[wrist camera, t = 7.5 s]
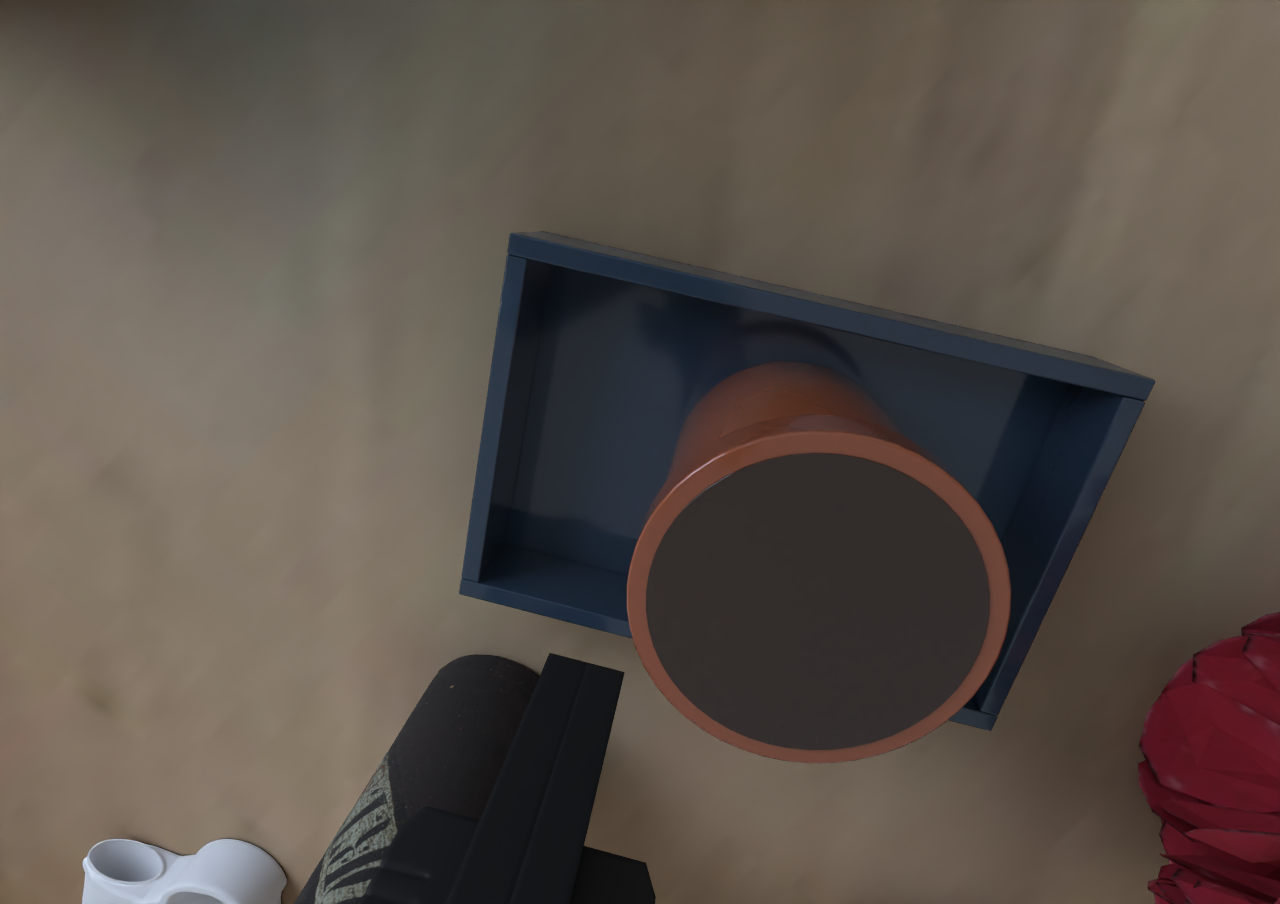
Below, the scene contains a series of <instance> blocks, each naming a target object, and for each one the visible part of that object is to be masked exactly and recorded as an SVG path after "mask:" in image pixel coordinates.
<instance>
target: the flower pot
mask: <svg viewBox="0 0 1280 904" xmlns="http://www.w3.org/2000/svg"><path fill="white" fill-rule="evenodd" d="M1010 610H1011V584H1010V575H1009V567H1008V564H1007V560H1006V557H1005V553H1004V550H1003V546H1002V544H1001V541H1000V539H999V537H998V535H997V533H996V531H995V529H994V526H993V524H992V523H991V521H990V520H989V518H988V517H987V515H986V514H985V512H984V511H983V509H982V508H981V506H980V505H979V503H978V502H977V501H976V500H975V498H974V497H973V496H972V495H971V494H970V493H969V492H968V490H967V489H966V488H965V487H964V486H963V485H962V483H961V482H960V481H959V480H958V479H957V478H956V477H955V476H954V475H953V473H952V472H951V471H950V470H949V469H948V468H947V467H946V466H945V465H944V464H943V463H942V462H941V461H939V460H938V459H937V458H936V457H935V456H933V455H932V454H931V453H930V452H929V451H927V450H926V449H925V448H923V447H921V446H920V445H918V444H917V443H915V442H913V441H912V440H910V439H908V438H907V437H905V435H904V434H903V433H902V432H901V430H900V429H899V428H898V427H897V425H896V424H895V423H894V422H893V420H892V419H891V418H890V417H889V415H888V414H887V413H886V412H885V410H884V409H883V408H882V406H881V405H880V404H879V403H878V402H877V401H876V400H875V398H874V397H873V396H872V395H871V394H870V393H869V392H868V391H867V390H866V389H864V388H863V387H862V386H861V385H859V384H858V383H857V382H855V381H854V380H852V379H850V378H849V377H847V376H846V375H844V374H842V373H839V372H837V371H835V370H833V369H830V368H827V367H824V366H820V365H817V364H812V363H805V362H794V361H781V362H771V363H766V364H761V365H757V366H753V367H750V368H747V369H745V370H742V371H739V372H737V373H735V374H733V375H731V376H730V377H728V378H726V379H724V380H723V381H721V382H720V383H718V384H717V385H716V386H714V387H713V388H712V389H711V390H710V391H708V392H707V393H706V394H705V395H704V396H703V397H702V398H701V399H700V400H699V402H698V403H697V404H696V405H695V406H694V407H693V409H692V410H691V412H690V413H689V415H688V417H687V418H686V420H685V422H684V424H683V426H682V428H681V430H680V432H679V435H678V439H677V442H676V445H675V449H674V453H673V456H672V460H671V464H670V468H669V471H668V475H667V479H666V482H665V484H664V485H663V486H662V488H661V489H660V491H659V492H658V494H657V495H656V497H655V498H654V500H653V501H652V503H651V505H650V507H649V510H648V512H647V514H646V516H645V518H644V520H643V523H642V526H641V529H640V532H639V536H638V539H637V542H636V546H635V549H634V552H633V555H632V559H631V562H630V566H629V573H628V579H627V614H628V621H629V627H630V631H631V634H632V638H633V641H634V644H635V648H636V650H637V652H638V654H639V657H640V659H641V661H642V663H643V665H644V667H645V669H646V671H647V672H648V674H649V675H650V677H651V679H652V680H653V682H654V683H655V685H656V686H657V687H658V689H659V690H660V691H661V692H662V694H663V695H664V696H665V697H666V698H667V700H668V701H669V702H670V703H671V704H672V705H673V706H674V707H675V708H676V709H677V710H678V711H680V712H681V713H682V714H683V715H684V716H685V717H686V718H688V719H689V720H690V721H692V722H693V723H694V724H696V725H697V726H698V727H700V728H701V729H702V730H704V731H706V732H708V733H709V734H711V735H713V736H714V737H716V738H718V739H720V740H721V741H724V742H726V743H728V744H730V745H733V746H735V747H737V748H739V749H742V750H745V751H748V752H751V753H754V754H758V755H761V756H764V757H769V758H774V759H779V760H784V761H792V762H802V763H836V762H845V761H854V760H859V759H863V758H868V757H873V756H877V755H880V754H883V753H886V752H889V751H892V750H895V749H898V748H901V747H903V746H905V745H907V744H909V743H911V742H913V741H916V740H918V739H920V738H922V737H923V736H925V735H927V734H928V733H930V732H931V731H933V730H935V729H936V728H938V727H939V726H941V725H942V724H943V723H945V722H946V721H947V720H948V719H950V718H951V717H952V716H953V715H955V714H956V713H957V712H958V711H959V710H960V709H961V708H962V707H963V706H964V705H965V704H966V703H967V702H968V701H969V700H970V699H971V698H972V697H973V696H974V695H975V693H976V692H977V691H978V689H979V688H980V687H981V685H982V684H983V682H984V681H985V680H986V678H987V677H988V675H989V673H990V672H991V670H992V668H993V666H994V664H995V662H996V660H997V659H998V656H999V654H1000V651H1001V648H1002V645H1003V643H1004V640H1005V637H1006V633H1007V628H1008V623H1009V618H1010Z"/></svg>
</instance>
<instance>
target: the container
mask: <svg viewBox="0 0 1280 904" xmlns="http://www.w3.org/2000/svg"><path fill="white" fill-rule="evenodd" d="M538 680H539V677H538V676H537V675H536V674H535V673H533V672H532V671H531V670H529V669H527V668H526V667H524V666H522V665H520V664H518V663H516V662H514V661H511V660H508V659H506V658H502V657H498V656H492V655H469V656H464V657H461V658H458V659H455V660H453V661H452V662H450V663H448V664H447V665H446V666H444V667H443V668H441V670H439V672H438V674H437V675H436V676H435V677H434V679H433V680H432V682H431V683H430V685H429V686H428V688H427V690H426V691H425V693H424V694H423V696H422V697H421V699H420V701H419V702H418V704H417V706H416V707H415V709H414V710H413V712H412V714H411V715H410V717H409V718H408V720H407V721H406V723H405V725H404V726H403V728H402V730H401V731H400V733H399V734H398V736H397V738H396V739H395V741H394V743H393V744H392V746H391V748H390V749H389V751H388V752H387V754H386V755H385V757H384V758H383V760H382V762H381V763H380V765H379V766H378V768H377V770H376V772H375V773H374V775H373V776H372V778H371V780H370V781H369V783H368V785H367V786H366V788H365V790H364V791H363V793H362V794H361V796H360V798H359V799H358V801H357V802H356V804H355V806H354V807H353V809H352V810H351V812H350V814H349V815H348V816H347V818H346V820H345V821H344V823H343V825H342V826H341V828H340V829H339V831H338V833H337V834H336V836H335V837H334V839H333V841H332V842H331V844H330V846H329V847H328V849H327V851H326V853H325V854H324V856H323V858H322V859H321V861H320V862H319V864H318V866H317V867H316V869H315V870H314V872H313V873H312V875H311V877H310V878H309V880H308V882H307V884H306V885H305V887H304V888H303V890H302V891H301V893H300V895H299V896H298V898H297V899H296V901H295V903H294V904H358V903H359V901H360V899H361V897H362V896H363V895H364V894H365V892H366V889H367V886H368V885H369V883H370V881H371V879H372V877H373V875H374V874H375V872H376V870H377V868H379V866H380V864H381V861H382V859H383V857H384V855H385V853H386V852H387V850H388V848H389V846H390V844H391V842H392V840H393V839H394V837H395V835H396V833H397V831H398V829H399V828H401V827H402V826H403V825H404V824H405V823H406V822H408V821H409V820H410V819H411V818H412V817H413V816H414V815H416V814H417V813H418V812H419V811H420V810H421V809H423V808H424V807H425V806H426V805H427V806H431V807H434V808H438V809H442V810H445V811H449V812H453V813H456V814H460V815H464V816H467V817H471V818H475V819H479V820H480V819H481V816H482V814H483V811H484V809H485V807H486V804H487V802H488V799H489V797H490V795H491V792H492V790H493V787H494V785H495V783H496V780H497V778H498V775H499V773H500V771H501V768H502V766H503V763H504V761H505V759H506V756H507V754H508V751H509V749H510V747H511V744H512V742H513V740H514V737H515V735H516V732H517V730H518V728H519V725H520V723H521V720H522V718H523V716H524V713H525V711H526V708H527V706H528V704H529V701H530V699H531V696H532V694H533V692H534V689H535V687H536V684H537V682H538Z"/></svg>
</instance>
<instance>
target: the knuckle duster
mask: <svg viewBox="0 0 1280 904" xmlns="http://www.w3.org/2000/svg"><path fill="white" fill-rule="evenodd" d="M83 868H84V871H85V882H84V891H83V900H82V904H281V892H282V890H283V889H284V887H285V886H286V884H287V879H286V876H285V874H284V872H283V870H282V869H281V867H280V866H279V864H278V863H277V862H276V861H275V860H274V859H273V858H272V857H271V856H270V855H269V854H268V853H266V852H265V851H263V850H262V849H260V848H258V847H257V846H255V845H252V844H250V843H247V842H244V841H241V840H235V839H220V840H216V841H213V842H210V843H208V844H206V845H205V846H204V847H202V848H201V849H200V850H199V851H198V852H197V853H196V855H187V856H179V855H177V854H174V853H172V852H169V851H167V850H164V849H162V848H159V847H157V846H153V845H148V844H144V843H141V842H138V841H134V840H128V839H110V840H104V841H102V842H99V843H97V844H96V845H95V846H93V847H92V848H91V849H90V851H89V853H88V856H87V857H86V858H85V859H84V860H83Z"/></svg>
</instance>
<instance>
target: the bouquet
mask: <svg viewBox="0 0 1280 904" xmlns="http://www.w3.org/2000/svg"><path fill="white" fill-rule="evenodd" d="M1241 631H1242V636H1238V637H1233V638H1228V639H1223V640H1219V641H1218V642H1216V643H1214V644H1212V645H1210V646H1209V647H1207V648H1205V649H1203V650H1201V651H1199V652H1198V653H1196V654H1194V655H1193V658H1191V659H1190V660H1188V661H1187V662H1185V663H1184V664H1182V665H1181V666H1180V668H1179V669H1178V670H1177V672H1176V673H1175V675H1174V676H1173V677H1172V679H1171V680H1170V681H1169V683H1168V684H1167V686H1166V687H1165V688H1164V690H1163V691H1162V694H1161V695H1160V697H1159V698H1158V699H1157V701H1156V702H1155V703H1154V704H1153V706H1152V707H1151V708H1150V710H1149V711H1148V712H1147V714H1146V718H1145V723H1144V727H1143V731H1142V735H1141V739H1140V743H1139V747H1140V749H1141V751H1142V753H1143V755H1144V757H1145V759H1146V761H1143V762H1140V763H1138V772H1139V785H1140V787H1141V789H1142V791H1143V793H1144V795H1145V797H1146V799H1147V802H1148V804H1149V806H1150V808H1151V810H1152V812H1153V813H1155V814H1156V815H1157V816H1159V817H1160V818H1161V821H1162V827H1161V830H1160V833H1159V836H1160V838H1161V841H1162V844H1163V846H1164V849H1165V852H1166V854H1167V855H1166V854H1160V855H1161V856H1163V857H1165V858H1167V859H1168V860H1169V862H1170V864H1169V865H1165V866H1161V869H1160V872H1159V876H1158V879H1156V880H1152V881H1149V882H1148V890H1150V891H1151V892H1153V893H1154V897H1155V903H1156V904H1280V612H1279V613H1273V614H1267V615H1265V616H1263V617H1261V618H1259V619H1257V620H1256V621H1254V622H1252V623H1250V624H1248V625H1246V626H1244V627H1242V628H1241Z"/></svg>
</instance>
